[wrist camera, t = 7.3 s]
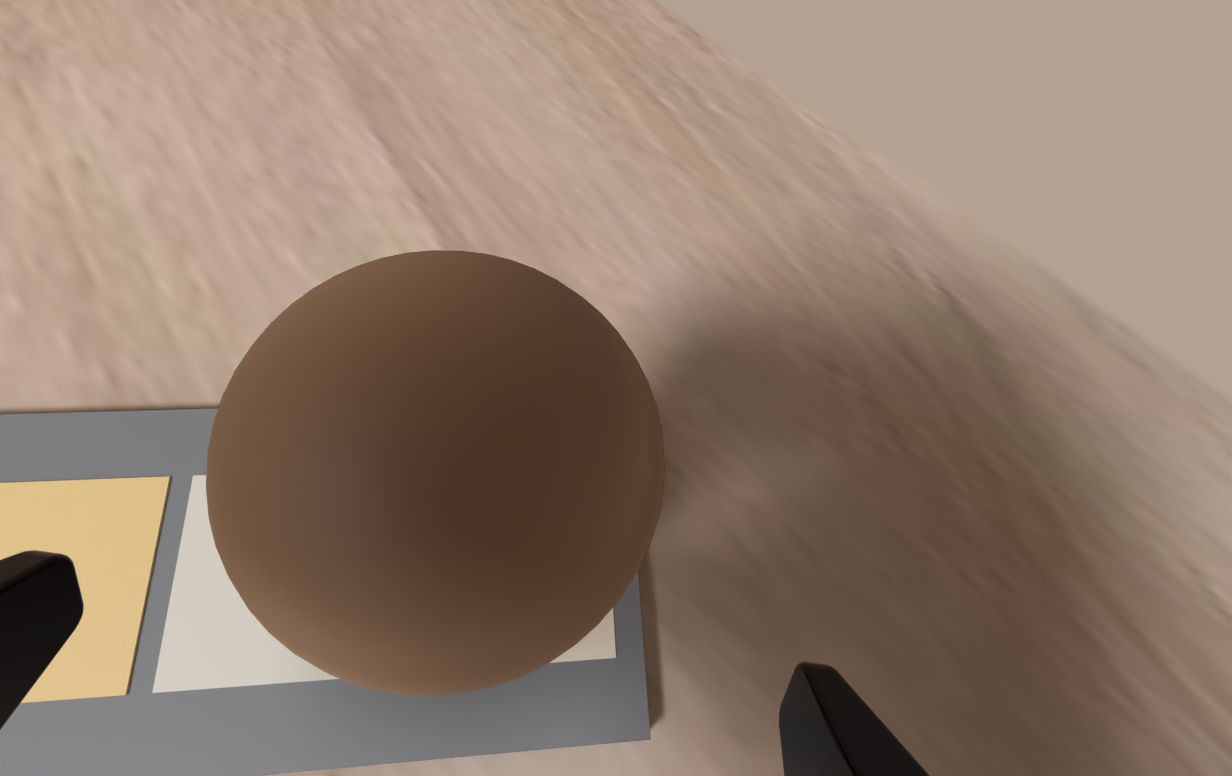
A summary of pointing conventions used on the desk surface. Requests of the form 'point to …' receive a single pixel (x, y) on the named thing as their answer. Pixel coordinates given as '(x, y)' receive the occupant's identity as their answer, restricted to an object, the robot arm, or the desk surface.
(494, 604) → the walnut pawn
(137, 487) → the game track
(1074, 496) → the desk surface
